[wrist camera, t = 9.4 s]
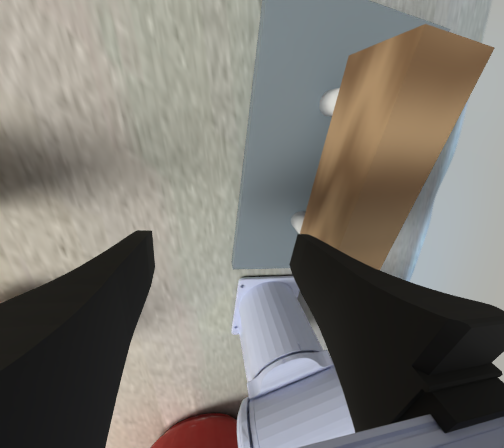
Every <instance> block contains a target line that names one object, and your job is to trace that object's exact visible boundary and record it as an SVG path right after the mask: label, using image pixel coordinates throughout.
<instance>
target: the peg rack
mask: <svg viewBox="0 0 504 448" xmlns="http://www.w3.org/2000/svg"><path fill="white" fill-rule="evenodd" d="M424 24H428V25H430V26H433V27H436V28H439V29H442V30H445V31H448V32H449V31H450V29H448V28H445V27H443V26H440V25H437V24H434V23H431V22H428V21H426V20H423V19H420V18H417V17H414V16H411V15H409V14H406V13H403V12H400V11H397V10H395V9H392V8H389V7H386V6H383V5H380V4H378V3H375V2H372V1H369V0H262V8H261V17H260V25H259V34H258V42H257V51H256V59H255V68H254V76H253V85H252V93H251V102H250V110H249V119H248V127H247V136H246V144H245V153H244V161H243V170H242V178H241V187H240V195H239V204H238V212H237V221H236V229H235V238H234V246H233V255H232V267H233V269H269V268H290V265H289V264H290V260H291V257H292V253H293V249H294V246H295V242H296V238H297V234H300V231H301V227H302V224H303V220H304V216H305V213H306V209H307V205H308V202H309V198H310V195H311V191H312V187H313V184H314V180H315V176H316V173H317V169H318V166H319V162H320V158H321V155H322V151H323V147H324V144H325V140H326V137H327V133H328V129H329V126H330V122H331V118H332V115H333V111H334V107H335V104H336V100H337V97H338V93H339V89H340V86H341V82H342V78H343V75H344V71H345V68H346V64H347V60H348V57H349V55H351V54H353V53H356V52H358V51H361V50H363V49H366V48H368V47H370V46H373V45H375V44H378V43H380V42H383V41H385V40H387V39H390V38H392V37H395V36H397V35H400V34H402V33H404V32H407V31H409V30H412V29H414V28H417V27H419V26H421V25H424Z"/></svg>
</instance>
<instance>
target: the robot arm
mask: <svg viewBox="0 0 504 448" xmlns="http://www.w3.org/2000/svg"><path fill="white" fill-rule="evenodd" d="M289 265H290V268H291V271H292V274H293V276H275V277H244V278H240V279H239V281H238V288H237V295H236V302H235V309H234V316H233V323H232V330H231V331H232V334H234V335H236V334H239V335H240V341H241V347H242V353H243V359H244V365H245V372H246V378H247V381H248V382H247V388H248V394H249V397H247V398H244V399H243V401H242V403H241V406H240V410H239V412H238V417H237V441H238V448H504V383H503V382H502V381H501V380H500V379H499V378H498V377H500V376H501V375H502V371H500V370H499V369H498V368H497V367H496V366H495V365H494V364H492V362H493V361H494V360H495V359H496V358H497V357H498V356H499V355H500V354H501V353H502V352H504V311H503V310H501V309H499V308H497V307H495V306H492V305H489V304H485V303H481V302H477V301H473V300H469V299H465V298H461V297H457V296H453V295H449V294H446V293H442V292H439V291H436V290H432V289H429V288H426V287H423V286H420V285H416V284H413V283H411V282H408V281H405V280H402V279H400V278H397V277H394V276H392V275H389V274H387V273H385V272H382V271H380V270H378V269H375V268H373V267H371V266H369V265H366V264H364V263H362V262H360V261H358V260H356V259H354V258H352V257H350V256H349V255H347V254H345V253H343V252H341V251H339V250H338V249H336V248H334V247H332V246H330V245H329V244H327V243H325V242H323V241H321V240H319V239H318V238H316V237H314V236H311V235H309V234H297V238H296V242H295V246H294V249H293V253H292V257H291V260H290V264H289ZM154 269H155V261H154V250H153V238H152V231H139V230H137V231H135V232H134V233H132V234H130V235H129V236H127V237H126V238H124V239H123V240H122V241H120V242H119V243H117V244H116V245H114V246H112V247H111V248H109V249H108V250H106V251H105V252H103V253H102V254H100V255H98V256H97V257H95V258H93V259H92V260H90V261H88V262H86V263H85V264H83V265H81V266H80V267H78V268H76V269H74V270H72V271H71V272H69V273H67V274H65V275H63V276H61V277H59V278H57V279H55V280H53V281H51V282H49V283H47V284H44V285H42V286H40V287H38V288H36V289H33V290H31V291H29V292H26V293H24V294H22V295H19V296H17V297H15V298H12V299H10V300H8V301H5V302H3V303H1V304H0V448H105V446H106V441H107V437H108V432H109V428H110V424H111V419H112V415H113V410H114V406H115V402H116V397H117V393H118V389H119V385H120V381H121V377H122V373H123V369H124V365H125V361H126V357H127V354H128V350H129V346H130V342H131V339H132V336H133V333H134V330H135V328H136V325H137V322H138V320H139V317H140V314H141V312H142V309H143V306H144V304H145V301H146V298H147V295H148V293H149V290H150V287H151V283H152V279H153V274H154ZM241 285H242V286H241ZM300 291H301V293H302V295H303V297H304V299H305V301H306V303H307V304H308V306H309V308H310V310H311V312H312V314H313V316H314V318H315V320H316V322H317V324H318V326H319V328H320V331H321V333H322V336H323V338H324V340H325V343H326V345H327V348H328V351H329V353H330V355H329V353H328V351H327V350H323V348H322V347H321V345H320V343H319V341H318V339H317V337H316V335H315V333H314V331H313V329H312V327H311V325H310V323H309V321H308V319H307V317H306V315H305V313H304V311H303V309H302V307H301V305H300V303H299V301H298V299H297V298H298V295H299V292H300ZM330 356H331V357H330Z"/></svg>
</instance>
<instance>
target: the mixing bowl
mask: <svg viewBox="0 0 504 448" xmlns="http://www.w3.org/2000/svg"><path fill="white" fill-rule="evenodd" d="M151 448H238V441H237V420H236V419H234V418H232V417H231V416H229V415H226V414H221V413H217V414H216V413H211V414H202V415H198V416H194V417H191V418H188V419H185V420H183V421H181V422H179V423H177V424H175V425H174V426H172V427H171V428H170V429H169V430H168V431H166V433H165V434H164V435H163V436H161V437H160V438H159V439H158V440H157V441H156V442H155V443H154V444H153V445H152V447H151Z"/></svg>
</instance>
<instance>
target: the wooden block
mask: <svg viewBox="0 0 504 448" xmlns="http://www.w3.org/2000/svg"><path fill="white" fill-rule="evenodd" d="M493 50H494V47H490V46H488V45H485V44H482V43H479V42H476V41H473V40H471V39H468V38H465V37H462V36H459V35H456V34H453V33H451V32H448V31H445V30H442V29H439V28H436V27H433V26H430V25H428V24H424V25H421V26H419V27H417V28H414V29H412V30H409V31H407V32H404V33H402V34H400V35H397V36H395V37H392V38H390V39H387V40H385V41H383V42H380V43H378V44H375V45H373V46H370V47H368V48H366V49H363V50H361V51H358V52H356V53H353V54H351V55H349V57H348V60H347V64H346V68H345V71H344V75H343V78H342V82H341V86H340V89H339V93H338V97H337V100H336V104H335V107H334V111H333V115H332V118H331V122H330V126H329V129H328V133H327V137H326V140H325V144H324V147H323V151H322V155H321V158H320V162H319V166H318V169H317V173H316V176H315V180H314V184H313V187H312V191H311V195H310V198H309V202H308V205H307V209H306V213H305V216H304V220H303V224H302V227H301V231H300V234H309V235H311V236H314V237H316V238H318V239H319V240H321V241H323V242H325V243H327V244H329V245H330V246H332V247H334V248H336V249H338V250H339V251H341V252H343V253H345V254H347V255H349V256H350V257H352V258H354V259H356V260H358V261H360V262H362V263H364V264H366V265H369V266H371V267H373V268H375V269H378V270H380V269H381V267H382V265H383V263H384V261H385V259H386V257H387V255H388V253H389V251H390V249H391V247H392V245H393V243H394V241H395V239H396V238H397V236H398V234H399V232H400V230H401V228H402V226H403V224H404V222H405V220H406V218H407V216H408V214H409V212H410V210H411V209H412V207H413V205H414V203H415V201H416V199H417V197H418V195H419V193H420V191H421V189H422V187H423V185H424V183H425V181H426V180H427V178H428V176H429V174H430V172H431V170H432V168H433V166H434V164H435V162H436V160H437V158H438V156H439V154H440V152H441V151H442V149H443V147H444V145H445V143H446V141H447V139H448V137H449V135H450V133H451V131H452V129H453V127H454V125H455V123H456V121H457V120H458V118H459V116H460V114H461V112H462V110H463V108H464V106H465V104H466V102H467V100H468V98H469V96H470V94H471V92H472V91H473V89H474V87H475V85H476V83H477V81H478V79H479V77H480V75H481V73H482V71H483V69H484V67H485V65H486V63H487V62H488V60H489V57H490V56H491V54H492V52H493Z"/></svg>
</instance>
